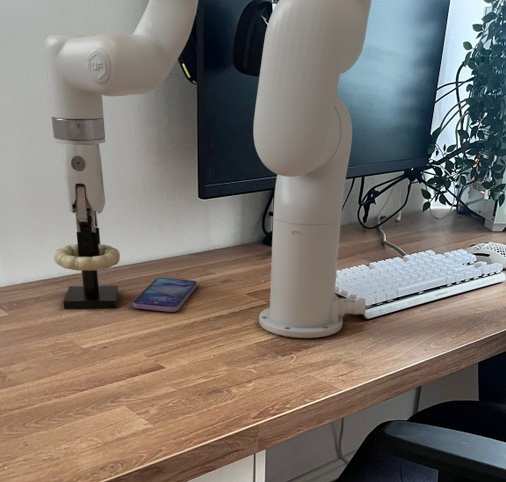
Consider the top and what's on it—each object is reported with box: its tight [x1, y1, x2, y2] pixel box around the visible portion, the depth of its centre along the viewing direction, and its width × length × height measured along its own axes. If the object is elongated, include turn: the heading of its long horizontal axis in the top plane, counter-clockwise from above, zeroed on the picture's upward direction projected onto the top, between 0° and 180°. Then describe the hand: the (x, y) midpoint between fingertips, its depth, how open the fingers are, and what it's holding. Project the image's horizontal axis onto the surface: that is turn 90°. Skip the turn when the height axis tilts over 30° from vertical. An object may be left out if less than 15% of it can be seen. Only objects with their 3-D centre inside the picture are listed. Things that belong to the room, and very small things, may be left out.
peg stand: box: [63, 254, 119, 310], centre depth 110 cm, size 8×8×7 cm
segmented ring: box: [53, 243, 121, 272], centre depth 108 cm, size 10×10×2 cm
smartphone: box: [132, 277, 198, 313], centre depth 114 cm, size 7×1×15 cm
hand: (90, 254), depth 112 cm, fingers closed on segmented ring, 2 cm apart
